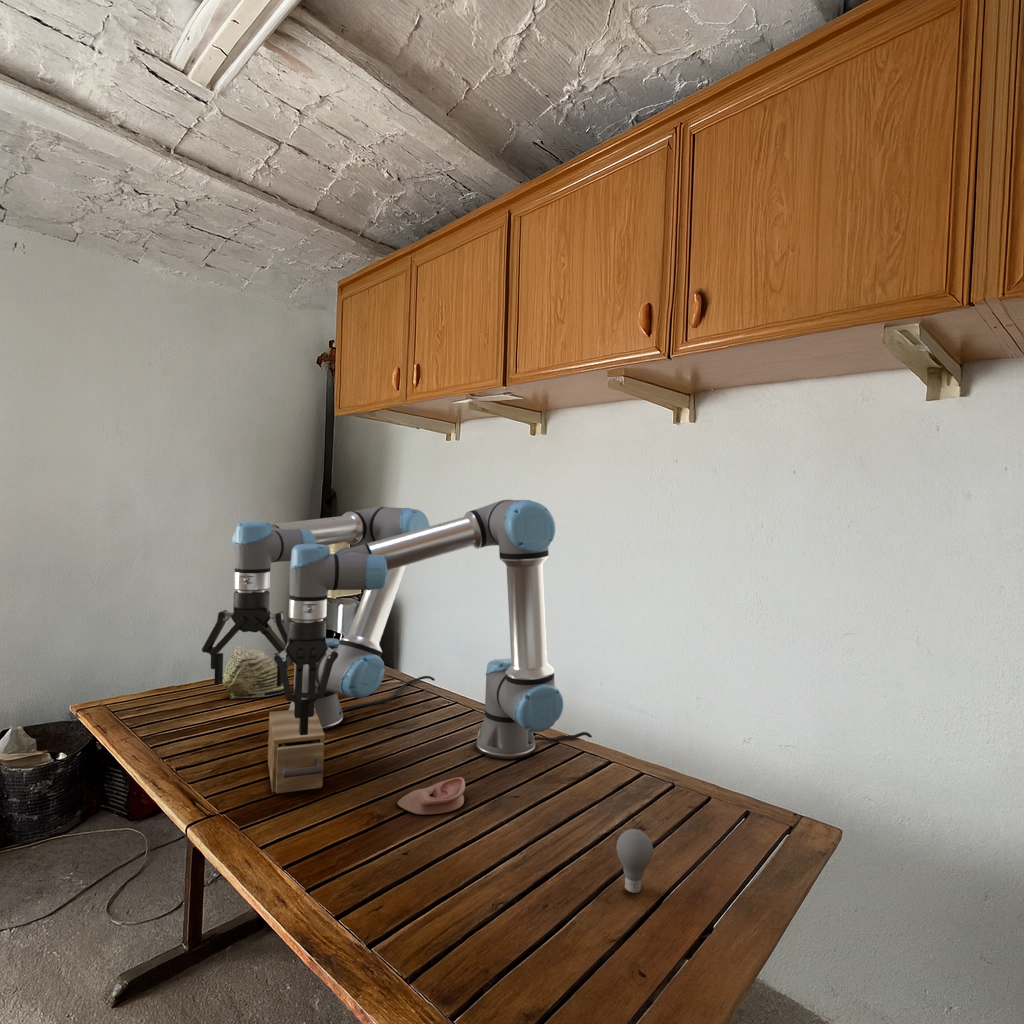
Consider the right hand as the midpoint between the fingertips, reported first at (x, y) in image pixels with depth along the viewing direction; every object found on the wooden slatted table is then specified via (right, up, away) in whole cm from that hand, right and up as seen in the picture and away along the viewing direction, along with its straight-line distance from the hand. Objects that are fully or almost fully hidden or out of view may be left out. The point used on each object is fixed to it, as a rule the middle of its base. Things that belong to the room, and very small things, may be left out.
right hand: (303, 732), depth 131 cm
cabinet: (-7, -14, +14) cm, 21 cm away
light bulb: (+63, -18, -25) cm, 71 cm away
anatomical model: (+26, -16, +2) cm, 31 cm away
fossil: (-37, -12, +67) cm, 78 cm away
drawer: (-4, -13, +8) cm, 16 cm away
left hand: (-16, +7, +12) cm, 21 cm away
